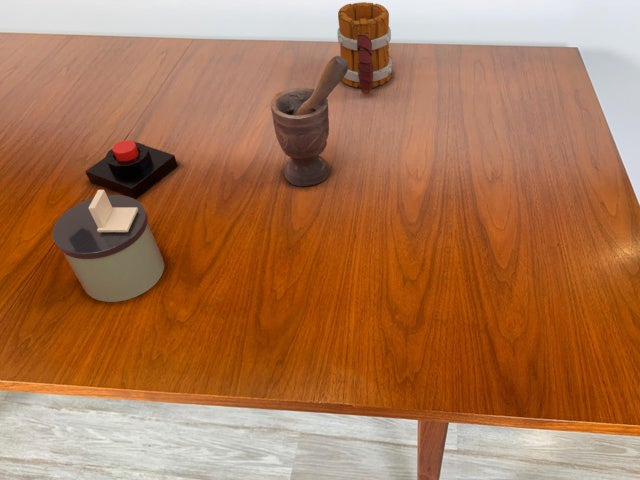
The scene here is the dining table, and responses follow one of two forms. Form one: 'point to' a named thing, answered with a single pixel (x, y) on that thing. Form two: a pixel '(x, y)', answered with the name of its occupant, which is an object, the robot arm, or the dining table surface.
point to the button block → (132, 171)
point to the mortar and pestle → (306, 125)
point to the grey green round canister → (109, 252)
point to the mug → (365, 44)
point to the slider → (111, 214)
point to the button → (125, 150)
